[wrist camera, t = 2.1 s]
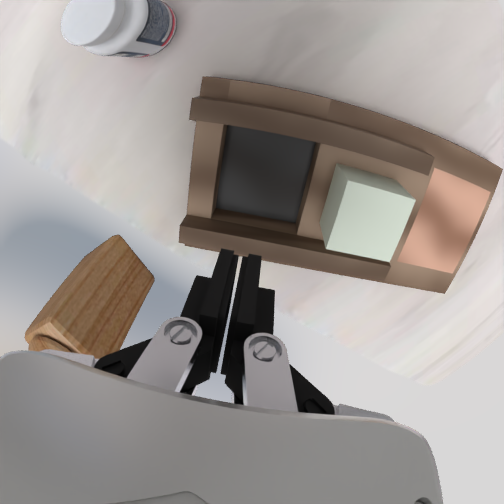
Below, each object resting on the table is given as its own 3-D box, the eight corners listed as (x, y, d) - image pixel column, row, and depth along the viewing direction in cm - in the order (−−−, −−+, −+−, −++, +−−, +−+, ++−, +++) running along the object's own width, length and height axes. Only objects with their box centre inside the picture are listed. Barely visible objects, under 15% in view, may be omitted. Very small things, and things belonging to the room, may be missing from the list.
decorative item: (120, 297, 33) (45, 443, 17) (84, 255, 31) (-16, 395, 14) (158, 278, 31) (80, 451, 14) (119, 229, 28) (1, 393, 12)
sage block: (336, 163, 21) (347, 180, 17) (396, 179, 21) (415, 199, 18) (319, 222, 24) (325, 249, 20) (375, 235, 24) (389, 262, 20)
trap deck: (210, 76, 20) (195, 76, 17) (488, 160, 21) (515, 177, 17) (191, 231, 28) (178, 258, 24) (436, 279, 28) (451, 306, 25)
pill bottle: (161, -10, 16) (107, -40, 9) (188, 34, 18) (141, 15, 11) (110, 25, 18) (43, 16, 10) (134, 69, 20) (70, 72, 13)
